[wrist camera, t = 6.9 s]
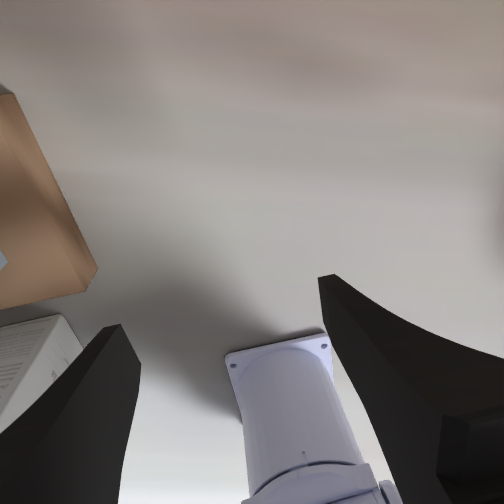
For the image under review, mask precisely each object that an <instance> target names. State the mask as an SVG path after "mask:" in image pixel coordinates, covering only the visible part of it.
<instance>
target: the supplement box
mask: <svg viewBox="0 0 504 504" xmlns="http://www.w3.org/2000/svg"><path fill="white" fill-rule="evenodd" d="M82 351H83V348H82V346H81V344H80V343H79V341H78V339H77V338H76V336H75V334H74V333H73V331H72V329H71V328H70V326H69V324H68V323H67V321H66V319H65V318H64V316H63V315H61V314H57V315H52V316H48V317H43V318H39V319H35V320H30V321H26V322H21V323H17V324H13V325H8V326H4V327H0V433H1V432H2V431H4V430H5V429H6V428H7V427H8V426H9V425H10V424H12V423H13V422H14V421H15V420H16V419H17V418H18V417H19V416H20V415H21V414H23V413H24V412H25V411H26V410H27V409H28V408H29V407H30V406H31V405H32V404H33V403H34V402H35V401H36V400H37V399H38V398H39V397H40V396H41V395H42V394H43V393H44V392H45V391H46V390H47V389H48V388H49V387H50V386H51V385H52V384H53V383H54V382H55V380H56V379H57V378H58V377H59V376H60V375H61V374H62V373H63V372H64V371H65V370H66V369H67V368H68V366H69V365H70V364H71V363H72V362H73V361H74V360H75V359H76V358H77V356H78V355H79V354H80V353H81V352H82Z"/></svg>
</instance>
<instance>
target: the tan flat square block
mask: <svg viewBox="0 0 504 504" xmlns="http://www.w3.org/2000/svg"><path fill="white" fill-rule="evenodd" d="M0 250H1V252H2V253H3V255H4V256H5V258H6V259H7V261H8V263H7V264H6V265H5V266H4V267H3V268H2V269H1V270H0V310H2V309H6V308H11V307H15V306H20V305H25V304H29V303H34V302H38V301H43V300H48V299H52V298H57V297H61V296H66V295H70V294H75V293H80V292H84V291H86V289H87V287H88V285H89V284H90V282H91V280H92V278H93V276H94V275H95V273H96V271H97V269H98V267H97V265H96V263H95V261H94V259H93V257H92V255H91V253H90V250H89V248H88V246H87V244H86V242H85V240H84V238H83V236H82V234H81V232H80V230H79V228H78V226H77V223H76V221H75V219H74V217H73V215H72V213H71V211H70V209H69V207H68V205H67V203H66V201H65V199H64V196H63V194H62V192H61V190H60V188H59V186H58V184H57V182H56V180H55V178H54V176H53V174H52V172H51V169H50V167H49V165H48V163H47V161H46V159H45V157H44V155H43V153H42V151H41V149H40V147H39V145H38V142H37V140H36V138H35V136H34V134H33V132H32V130H31V128H30V126H29V124H28V122H27V120H26V118H25V115H24V113H23V111H22V109H21V107H20V105H19V103H18V101H17V99H16V97H15V95H14V93H12V94H4V95H0Z"/></svg>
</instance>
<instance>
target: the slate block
mask: <svg viewBox="0 0 504 504" xmlns="http://www.w3.org/2000/svg"><path fill="white" fill-rule="evenodd" d="M7 263H8V261H7V259H6V258H5V256H4V255H3V253H2V252H1V250H0V270H1V269H2V268H3V267H4V266H5V265H6V264H7Z"/></svg>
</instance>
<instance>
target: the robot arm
mask: <svg viewBox="0 0 504 504" xmlns="http://www.w3.org/2000/svg"><path fill="white" fill-rule="evenodd" d="M318 284H319V292H320V300H321V308H322V316H323V322H324V325H325V328H326V330H327V333H328V334H326V333H321V334H316V335H312V336H307V337H302V338H298V339H293V340H289V341H284V342H279V343H275V344H270V345H266V346H261V347H256V348H252V349H247V350H242V351H238V352H233V353H229V354H227V355H226V357H225V363H226V366H227V370H228V373H229V376H230V379H231V383H232V386H233V389H234V393H235V396H236V399H237V403H238V406H239V409H240V412H241V416H242V423H243V433H244V443H245V454H246V464H247V474H248V484H249V494H250V498H249V499H246V500H243V501H242V502H241V504H504V359H503V358H500V357H497V356H494V355H490V354H487V353H484V352H481V351H478V350H475V349H472V348H469V347H466V346H463V345H461V344H458V343H455V342H453V341H450V340H448V339H445V338H443V337H440V336H438V335H435V334H433V333H431V332H429V331H426V330H424V329H422V328H420V327H418V326H416V325H414V324H412V323H410V322H408V321H406V320H404V319H402V318H400V317H398V316H397V315H395V314H393V313H391V312H390V311H388V310H386V309H385V308H383V307H381V306H380V305H378V304H377V303H375V302H374V301H372V300H371V299H369V298H368V297H366V296H365V295H363V294H362V293H360V292H359V291H357V290H356V289H355V288H353V287H352V286H351V285H349V284H348V283H346V282H345V281H344V280H342V279H341V278H340V277H338V276H337V275H335V274H331V275H327V276H323V277H319V278H318ZM330 341H331V343H332V346H333V348H334V350H335V352H336V354H337V355H338V357H339V359H340V361H341V363H342V365H343V367H344V369H345V371H346V373H347V375H348V376H349V378H350V380H351V382H352V384H353V386H354V388H355V390H356V392H357V393H358V395H359V397H360V399H361V401H362V403H363V405H364V407H365V410H366V412H367V414H368V417H369V419H370V421H371V424H372V426H373V429H374V431H375V434H376V436H377V438H378V441H379V443H380V446H381V449H382V451H383V454H384V456H385V459H386V461H387V464H388V466H389V469H390V471H391V474H392V476H393V479H394V482H395V484H396V485H393V483H392V482H391V481H390V480H384V481H380V482H379V488H380V490H379V488H378V485H377V482H376V480H375V477H374V475H373V472H372V470H371V468H370V465H369V464H368V463H365V462H364V460H363V457H362V455H361V452H360V450H359V447H358V445H357V442H356V440H355V437H354V435H353V432H352V430H351V427H350V425H349V422H348V420H347V417H346V415H345V412H344V410H343V407H342V405H341V402H340V400H339V397H338V395H337V392H336V390H335V387H334V381H333V369H332V357H331V345H330ZM322 344H324V345H322ZM232 364H233V365H232ZM140 372H141V363H140V361H139V359H138V357H137V355H136V353H135V351H134V349H133V347H132V345H131V343H130V341H129V340H128V338H127V336H126V334H125V332H124V330H123V328H122V326H121V324H118V325H113V326H109V327H105V328H103V329H102V330H101V331H100V332H99V333H98V334H97V335H96V336H95V337H94V338H93V340H92V341H91V342H90V343H89V344H88V345H87V346H86V347H85V349H84V350H83V351H82V352H81V353H80V354H79V355H78V356H77V358H76V359H75V360H74V361H73V362H72V363H71V364H70V365H69V366H68V368H67V369H66V370H65V371H64V372H63V373H62V374H61V375H60V376H59V377H58V378H57V379H56V380H55V382H54V383H53V384H52V385H51V386H50V387H49V388H48V389H47V390H46V391H45V392H44V393H43V394H42V395H41V396H40V397H39V398H38V399H37V400H36V401H35V402H34V403H33V404H32V405H31V406H30V407H29V408H28V409H27V410H26V411H25V412H24V413H23V414H21V415H20V416H19V417H18V418H17V419H16V420H15V421H14V422H13V423H12V424H10V425H9V426H8V427H7V428H6V429H5V430H4V431H2V432H1V433H0V504H118V497H119V489H120V481H121V473H122V466H123V461H124V456H125V451H126V447H127V442H128V438H129V433H130V429H131V425H132V420H133V416H134V411H135V407H136V402H137V398H138V393H139V384H140ZM380 491H381V492H380Z"/></svg>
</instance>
